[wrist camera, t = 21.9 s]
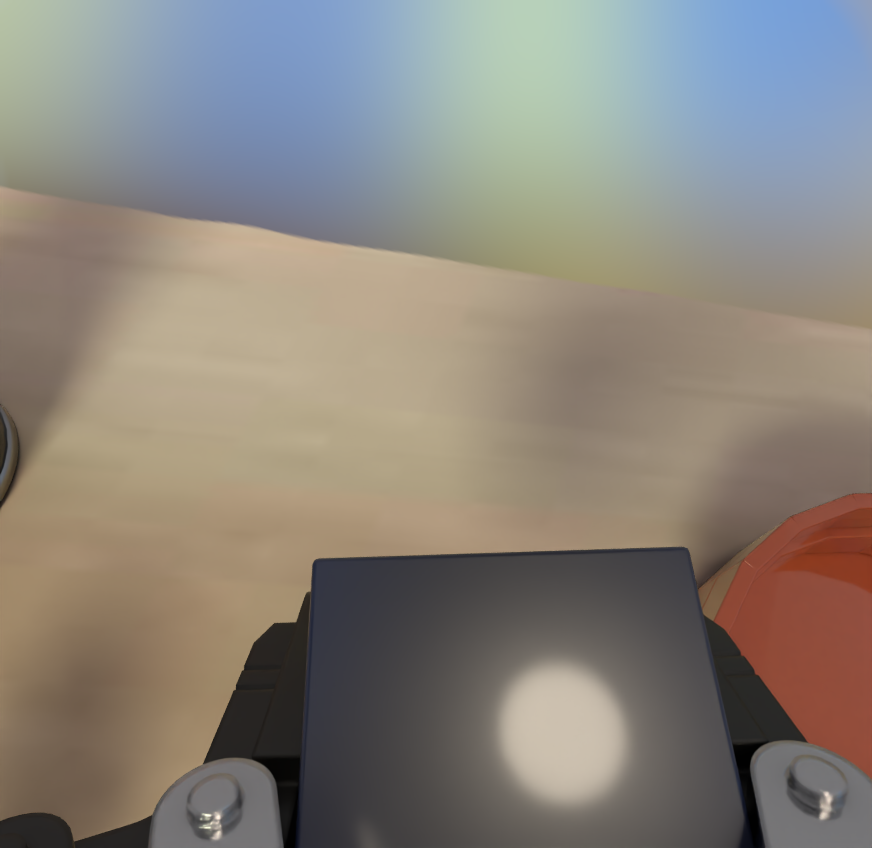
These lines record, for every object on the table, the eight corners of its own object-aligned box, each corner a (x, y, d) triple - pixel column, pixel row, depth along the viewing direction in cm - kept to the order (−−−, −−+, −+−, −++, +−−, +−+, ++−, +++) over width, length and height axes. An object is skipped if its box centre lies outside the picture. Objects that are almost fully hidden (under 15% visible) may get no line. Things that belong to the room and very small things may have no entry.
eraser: (372, 898, 12) (278, 1073, 5) (375, 656, 15) (311, 556, 8) (601, 890, 12) (804, 1056, 5) (571, 650, 15) (690, 544, 8)
